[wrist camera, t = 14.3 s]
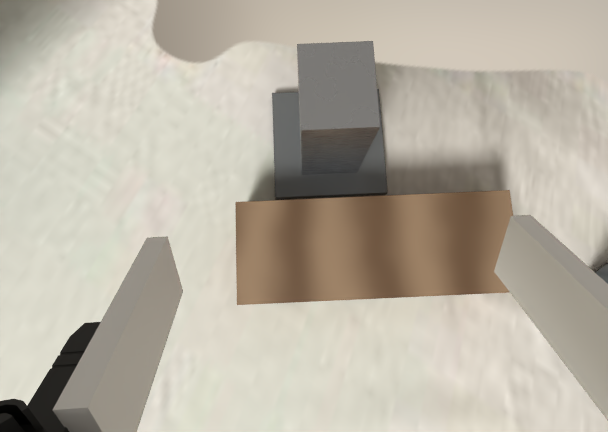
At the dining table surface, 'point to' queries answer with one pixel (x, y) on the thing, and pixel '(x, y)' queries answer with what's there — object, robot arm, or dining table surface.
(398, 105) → the dining table surface
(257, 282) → the body
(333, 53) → the grey rectangular block
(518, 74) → the dining table surface
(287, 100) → the rubber pad
